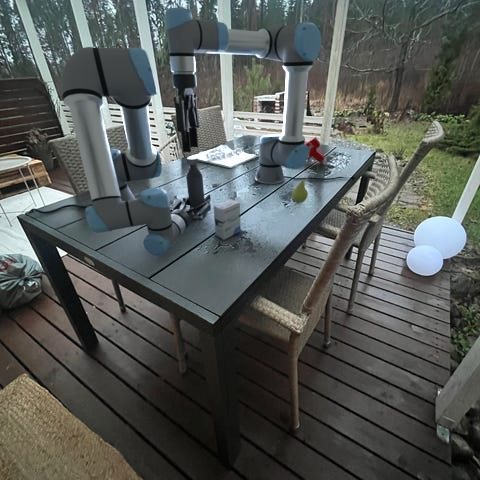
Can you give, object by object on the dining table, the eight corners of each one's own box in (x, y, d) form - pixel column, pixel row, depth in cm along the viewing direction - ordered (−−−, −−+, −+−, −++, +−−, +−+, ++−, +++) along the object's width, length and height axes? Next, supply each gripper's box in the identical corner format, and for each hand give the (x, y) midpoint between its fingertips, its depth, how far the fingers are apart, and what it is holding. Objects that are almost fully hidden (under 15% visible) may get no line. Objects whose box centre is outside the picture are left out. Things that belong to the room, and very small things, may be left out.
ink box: (232, 226, 103) (231, 197, 97) (241, 231, 100) (241, 202, 94) (214, 235, 98) (212, 205, 92) (223, 240, 95) (222, 209, 89)
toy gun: (328, 157, 168) (316, 136, 164) (328, 158, 165) (315, 137, 161) (303, 172, 178) (290, 152, 174) (302, 174, 175) (289, 154, 171)
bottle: (207, 212, 113) (202, 156, 101) (203, 219, 108) (198, 161, 96) (193, 212, 114) (186, 156, 101) (189, 218, 109) (182, 161, 96)
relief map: (230, 168, 162) (230, 159, 159) (189, 158, 180) (188, 150, 177) (256, 157, 180) (256, 149, 177) (216, 149, 198) (215, 142, 195)
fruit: (288, 200, 123) (290, 174, 116) (302, 197, 125) (305, 172, 119) (296, 206, 118) (299, 179, 111) (310, 203, 120) (314, 177, 114)
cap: (199, 161, 101) (199, 156, 100) (197, 165, 98) (196, 159, 96) (189, 161, 101) (188, 156, 100) (186, 164, 98) (185, 159, 97)
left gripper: (153, 229, 97) (181, 202, 116) (203, 236, 93) (224, 207, 112) (149, 210, 93) (179, 186, 112) (201, 216, 89) (223, 190, 108)
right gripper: (184, 72, 93) (191, 142, 105) (157, 73, 77) (169, 155, 89) (205, 72, 91) (209, 143, 104) (182, 74, 76) (190, 157, 88)
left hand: (201, 196), depth 112 cm, fingers closed on bottle, 6 cm apart
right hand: (190, 149), depth 97 cm, fingers open, 6 cm apart
